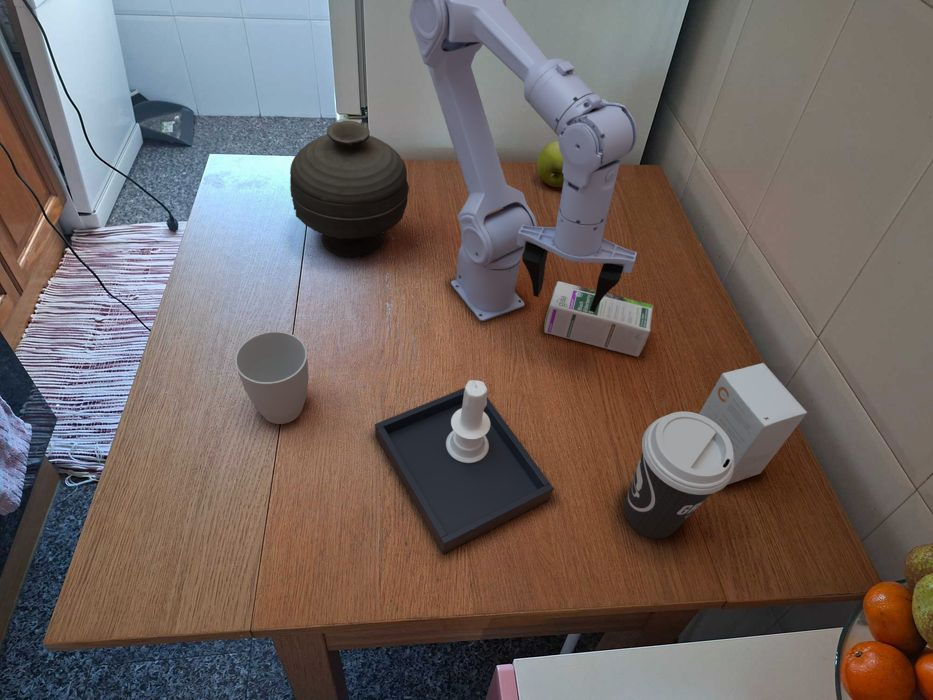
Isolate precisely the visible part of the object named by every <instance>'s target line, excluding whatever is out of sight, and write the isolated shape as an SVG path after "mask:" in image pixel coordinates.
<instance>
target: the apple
mask: <svg viewBox="0 0 933 700" xmlns="http://www.w3.org/2000/svg"><path fill="white" fill-rule="evenodd" d="M562 170H563V158H562V155H561V152H560V149H559V140H554V141H551V142H550V143H548V144H547V145H545V146H544V147H543V148H542V149H541V151H540V152H539V155H538V157H537V161H536V171H537V175H538V177H539V178H540V179H541V180H542V181H543V182H544V183H545V184H546V185H548V186H549V187H552V188H563V182H564V177H563V176H564V174H563V173H562Z"/></svg>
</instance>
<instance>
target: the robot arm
mask: <svg viewBox="0 0 933 700" xmlns="http://www.w3.org/2000/svg"><path fill="white" fill-rule="evenodd" d="M409 9H410V11H409V15H408V18H409V21H410V24H411V28H412V31H413V34H414V37H415V41H416V43H417V46H418V49H419V53H420V56H421V59H422V62H423V64H424V65H426V66H427V68H428V71H429V75H430V78H431V81H432V84H433V87H434V90H435V93H436V97H437V101H438V104H439V106H440V109H441V112H442V115H443V118H444V122H445V124H446V128H447V131H448V133H449V137H450V140H451V144H452V147H453V149H454V153H455V156H456V159H457V162H458V165H459V168H460V172H461V175H462V178H463V181H464V184H465V187H466V190H467V193H468V197H467V199H466V201H465V203H464V204H463V206H462V208H461V209H460V211H459V213H458V215H457V220H458V222H459V227H460V232H461V234H460V236H461V237H460V239H461V245H460V247H459V250H458V254H457V257H458V258H457V265H456V275H455V279H453V280H451V281H450V285H451V287H452V288H453V289H454V290H455V292H456V293H457V294H458V295H459V297H460V298H461V299H462V300H463V302H464V303H465V304H466V306H467V307H468V308H469V310H470V311H471V312H472V313H473V314H474V315H475V317H476V318H477V320H478V321H479V322H486V321H488V320H491V319H494V318H497V317H499V316H503V315H505V314H509V313H511V312H513V311H517V310H519V309H521V308H524V307H525V302H524V300H522V298H521V297H520V296H519V295H518V294H517V292H516V287H517V282H518V276H519V270H520V265H521V262H522V263H523V264H524V267H525V268H526V270H527V272H528V275H529V278H530V281H531V286H532V287H531V288H532V296H533V297H536V298H539V296H540V294H541V292H542V290H543V285H544V281H545V271H546V270H545V269H546V264H547V259H548V254H549V253H552V254H553V255H555V256H557V257H559V258H560V259H561V258H562V259H564V260H566V261H569V262H574V263H588V264H589V263H590V264H602V267H601V269H600V272H599V275H598V278H597V283H596V288H595V290H596V293H595V296H594V299H593V302H592V304H591V308H590V311H592V312H595V311H596V308H597V306H598V304H599V303H600V301H601V300H602V298H603V297H604V296H605V295H606V293H609V291H611V290H612V289H613V288H614V287H615V286H617V284H618V283H619V282H620V280H621V277H622V274H623V273H625V274H626V273H627V274H632V272H633V269H634V265H635V262H636V258H637V255H638V252H637V251H634V250H631V249H628V248H625V247H623V246H621V245H618V244H616V243H615V242H612V241H610V240H609V239H606V238H604V232H605V229H606V224H607V218H608V216H609V212H610V207H611V203H612V200H613V194H614V190H615V187H616V186H615V185H616V181H617V177H618V174H619V168H620V165H621V160H620V159H622V158H624V157H626V156H627V155H628V154H630V153H631V152H632V151H633V150H634V148H635V145H636V143H637V140H638V130H637V129H638V128H637V124H636V121H635V119H634V117H633V116H632V114H631V113H630V111H629V110H628V107H627V106H626V105H624V104H622V103H619V102H613V101H612V102H610V101H608V100H607V99H605V98H601V97H600V96H599V95H598V94H597V93H596V92H594V91H593V89H592V88H590V87H589V86H588V85H587V84H586V82H585V81H584V80H583V79H582V78H581V77H580V76H579V75H578V74H577V72H575V66H574V65H572V63H571V62H570V61H569V60H564V59H562V58H550V59H549V58H547V57H546V55H545V54H544V53H543V52H542V51H541V49H540V48H539V46H538V45H537V44H536V43H535V41H534V40H533V39H532V38H531V36H530V35H529V34H528V33H527V31H526V30H525V28H523V26H522V25H521V24H520V22H519V21H518V20H517V18H515V16H514V15H513V14H512V12H511V11H510V10H509V9H508V7H507V0H411V4H410V8H409ZM483 45H484V46H485V48H486V49H488V50H489V52H490V53H492V54H493V55H494V56H495V57H496V58H497V59H498V60H499V61H500V62H501V63H502V64H504V65H505V66H506V67H507V68H508V69H509V70H510V71H511V72H512V73H513V74H514V75H516V77H518V79H520V80H521V82H523V83H524V85H523V89H524V90H523V96H524V99H525V101H526V103H528V105H529V106H530V107H531V108H532V109H533V110H534V111H535V112H536V113H537V114H538V115H539V117H540V118H541V119H542V120H543V121H544V122H545V124H546V125H547V126H548V127H549V128H550V129H551V130H552V132H553V133H555V134H556V135H557V137H558V141H559V149H560V152H561V155H562V158H563V170H562V173H563V174H564V176H563V177H564V182H563V186H562V187H561V188H562V189H561V195H560V201H559V207H558V212H557V219H556V224H555V226H538V223H537V219H536V216H535V214H534V213H533V211H532V210H531V208H530V207H529V205H528V203H527V200H526V196H525V194H524V192H523V191H521V190H519V189H517V188H514V187H513V186H511V185H508V184H507V182H506V178H505V175H504V171H503V168H502V164H501V162H500V158H499V155H498V152H497V148H496V144H495V142H494V138H493V135H492V131H491V128H490V125H489V121H488V119H487V115H486V112H485V109H484V105H483V102H482V98H481V95H480V92H479V88H478V85H477V82H476V81H477V80H476V78H475V75H474V72H473V69H472V68H473V67H472V64H473V62H474V59H475V56H476V53H478V52H479V51H480V50H481V49H482V47H483ZM521 260H522V261H521Z"/></svg>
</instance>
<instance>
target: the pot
mask: <svg viewBox="0 0 933 700" xmlns="http://www.w3.org/2000/svg"><path fill="white" fill-rule="evenodd" d="M370 134H371V131H370V129H369V128H368V127H367V128H366V127H365V126H364V125H363V124H362V123H360V122H359V121H356V120H355V121H354V120H342V121H336V122H333V123H330V124H329V125H328V127H327V129H326V134H325V135H321V136H319V137H317V138H314V140H311V141H310V142H309V143H307V144H305V145H304V147H302V148H301V149H299V151H298V152H297V154H295V155H294V157H293V159H292V162H291V164H290V169H289V170H290V171H289V175H290V176H289V177H290V178H289V183H290V186H289V188H290V189H289V190H290V196H291V199H292V200H291V201H292V206H293V210H294V211H295V217H296V218H297V219H298V220H299V221H300V222H302V223H303V224H304V225H305V226H306V227H308V228H310V229H312V230H313V231H314V232H316V233H318V234H320V235H321V238H320V240H321V245H322V247H323V248H324V249H325V250H326V251H327V252H329V253H330V254H332V255H334V256H337V257H338V258H343V259H354V260H355V259H361V258H365V257H368V256H370V255H372V254H375V253H376V252H377V251H378V250H380V249H381V248H382V246H383V244H384V241H385V236H384V233H387V232H388V231H389V230H391V229H392V228H394V227H395V226H397V224H398V223H399V222H400V221H401V220H402V219H403V217H404V215H405V211H406V209H407V206H408V201H409V199H408V198H409V197H408V195H409V191H410V185H409V182H408V170H407V167H406V163H405V162H404V160H403V159H402V156H401V155H400V154H399V153H398V151H396V150H395V149H394V148H393V147H392V146H391V145H390V144H388V143H387V142H385V141H383V140H381V139H379V138H377V137H376V136H372V135H370Z"/></svg>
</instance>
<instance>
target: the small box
mask: <svg viewBox="0 0 933 700" xmlns="http://www.w3.org/2000/svg"><path fill="white" fill-rule="evenodd" d="M698 414H700V415H702V416H705V417H707V418H709V419H710V420H712V421H713V422H715V423H716V424H717V425H719V426H720V427H721V428H722V429H723V430H724V432H725V433H726V434H727V436H728V437H729V439H730V441H731V444H732V447H733V454H734V471H733V475H732V478H731V480H730V481H729V483H728V484H727V485H731V484H733V483H736V482H739V481H740V482H741V481H743V480H746V479H748V478H751V477H754V476H757V475H760V474H761V473H762V472H763V471H764V470H765V468H766V467H767V466H768V464H769V463H770V462H771V460H772V459H773V458H774V457H775V455H776V454H777V453H778V452H779V451H780V449H781V448H782V447H783V445H784V444H785V442H786V441H787V440H788V439H789V437H790V436H791V435H792V433H793V432H794V431H795V429H796V428H797V427H798V425H799V424H800V423H801V422H802V421H803V419H804V418H805V417H806V415H807V414H808V411H807V410H806V409H805V408H804V407H803V406H802V405H801V404H800V403H799V401H798V400H797V399H796V398H795V397H794V396H793V395H792V393H791V392H790V391H789V390H788V389H787V388H786V386H784V384H783V383H782V382H781V381H780V380H779V379H778V378H777V376H776V375H775V374H774V373H773V371H772V370H770V368H769V367H768V366H767V364H765V363H764V362H760V363H757V364H754V365H749V366H746V367H742V368H738V369H734V370H730V371H726V372H722V373H721V375H720V377H719V378H718V380H717V382H716V384H715V385H714V386H713V389H712V391H711V392H710V394H709V396H708V397H707V398H706V401H704V404H703V406H702V407H701V409H700V411H699V413H698ZM727 485H726V486H727Z"/></svg>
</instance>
